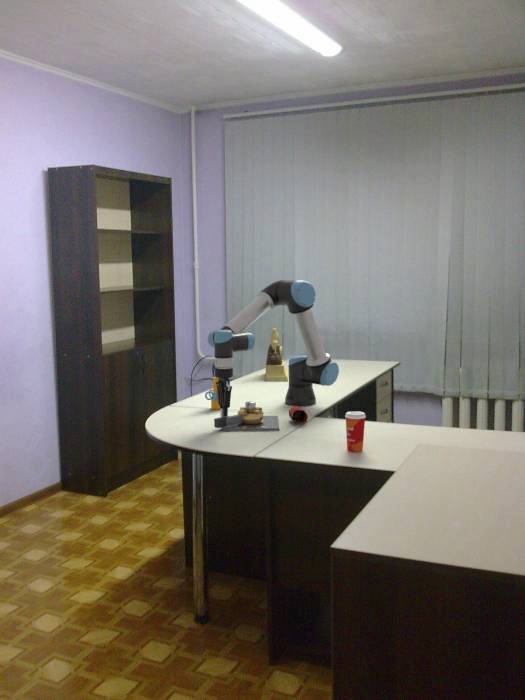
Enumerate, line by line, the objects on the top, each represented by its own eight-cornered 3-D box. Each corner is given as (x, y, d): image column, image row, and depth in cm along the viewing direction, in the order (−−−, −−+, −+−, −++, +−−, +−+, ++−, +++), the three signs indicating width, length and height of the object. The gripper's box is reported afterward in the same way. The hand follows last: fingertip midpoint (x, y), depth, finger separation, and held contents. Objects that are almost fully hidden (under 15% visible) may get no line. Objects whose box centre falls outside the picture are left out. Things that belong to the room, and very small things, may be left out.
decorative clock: (287, 381, 414) (287, 329, 410) (265, 381, 414) (265, 330, 411) (287, 373, 442) (287, 325, 438) (266, 373, 442) (266, 325, 438)
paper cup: (342, 447, 267) (342, 411, 265) (362, 447, 268) (363, 410, 266) (346, 453, 259) (347, 415, 257) (367, 452, 260) (368, 415, 258)
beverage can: (303, 419, 316) (303, 404, 315) (308, 425, 304) (308, 409, 303) (287, 419, 315) (287, 404, 314) (291, 425, 303) (291, 410, 303)
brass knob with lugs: (251, 417, 313) (251, 405, 313) (268, 421, 305) (268, 409, 305) (207, 426, 297) (207, 413, 297) (224, 430, 289) (224, 417, 289)
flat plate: (277, 417, 318) (277, 396, 317) (279, 431, 293) (279, 408, 292) (223, 418, 318) (223, 397, 316) (220, 431, 293) (220, 408, 292)
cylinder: (225, 411, 332) (224, 379, 330) (203, 410, 334) (203, 379, 332) (231, 406, 343) (231, 375, 342) (210, 405, 345) (210, 374, 344)
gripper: (210, 365, 300) (210, 420, 303) (220, 370, 288) (221, 427, 291) (226, 364, 303) (227, 419, 306) (237, 369, 291) (238, 425, 294)
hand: (224, 423), depth 299 cm, fingers closed
